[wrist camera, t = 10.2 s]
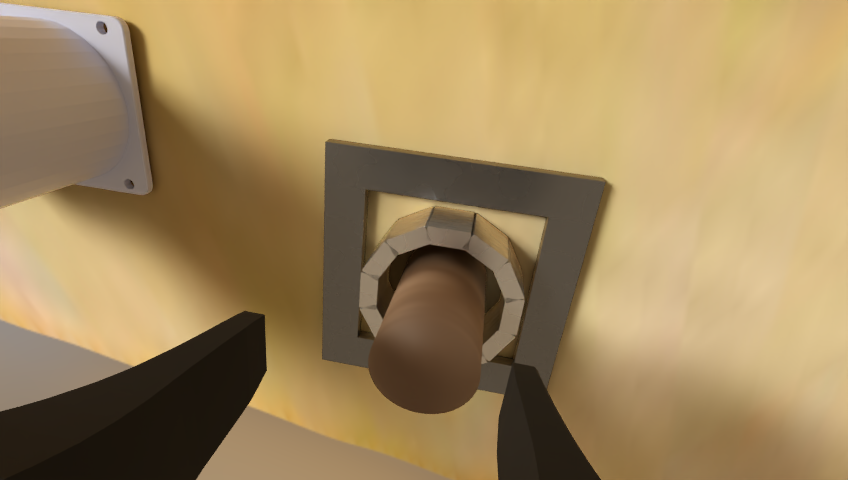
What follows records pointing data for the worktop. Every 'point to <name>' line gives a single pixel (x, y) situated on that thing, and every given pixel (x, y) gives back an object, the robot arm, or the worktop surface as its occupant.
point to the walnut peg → (432, 332)
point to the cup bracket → (464, 184)
